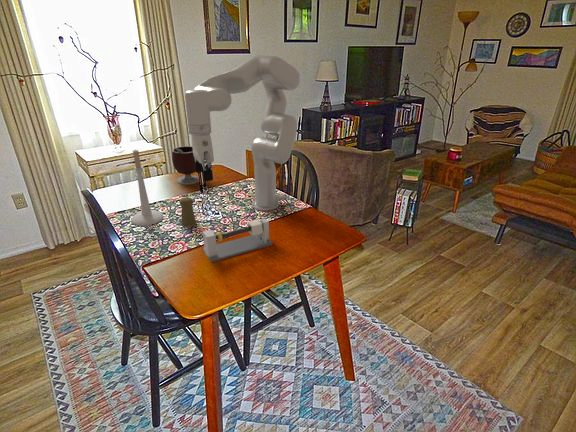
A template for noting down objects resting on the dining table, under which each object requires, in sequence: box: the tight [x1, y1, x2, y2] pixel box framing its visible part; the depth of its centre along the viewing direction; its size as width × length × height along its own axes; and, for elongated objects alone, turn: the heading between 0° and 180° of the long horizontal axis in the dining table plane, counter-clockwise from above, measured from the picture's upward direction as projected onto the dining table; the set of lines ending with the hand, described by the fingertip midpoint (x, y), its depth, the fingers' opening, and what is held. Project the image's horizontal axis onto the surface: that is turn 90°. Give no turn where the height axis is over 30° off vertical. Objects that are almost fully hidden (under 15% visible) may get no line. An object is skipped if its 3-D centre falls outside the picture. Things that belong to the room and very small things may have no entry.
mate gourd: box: [171, 145, 200, 185], centre depth 185 cm, size 16×14×20 cm
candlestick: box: [130, 149, 164, 227], centre depth 143 cm, size 13×13×30 cm
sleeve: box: [247, 219, 262, 236], centre depth 130 cm, size 4×4×4 cm
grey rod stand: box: [202, 218, 274, 263], centre depth 128 cm, size 24×9×9 cm, turn 121°
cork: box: [179, 196, 197, 227], centre depth 144 cm, size 6×6×11 cm
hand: (204, 176), depth 127 cm, fingers open, 9 cm apart
